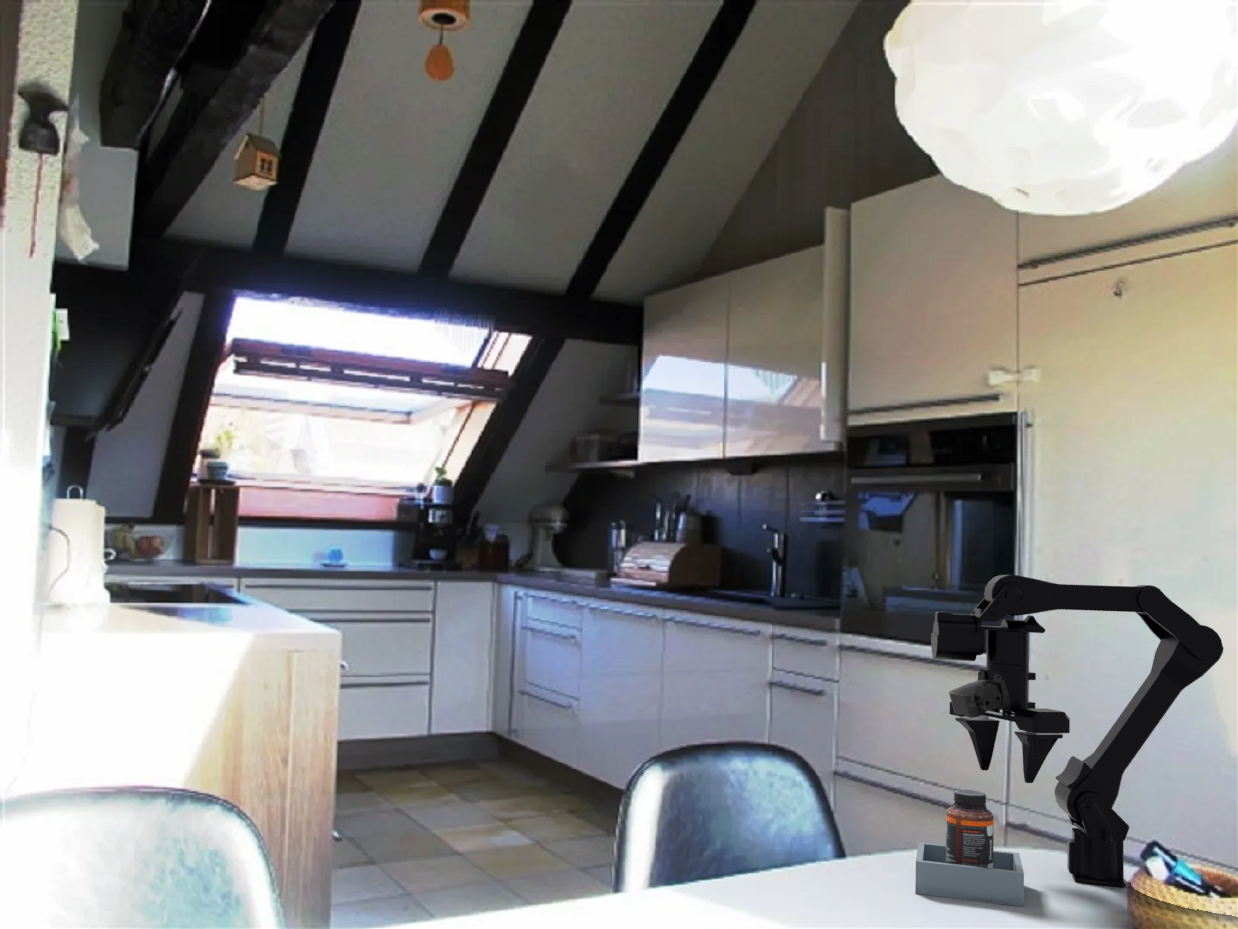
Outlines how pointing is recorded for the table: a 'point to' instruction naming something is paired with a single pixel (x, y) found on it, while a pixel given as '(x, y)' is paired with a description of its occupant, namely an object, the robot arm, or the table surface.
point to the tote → (969, 877)
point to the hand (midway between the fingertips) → (1006, 776)
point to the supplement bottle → (969, 830)
